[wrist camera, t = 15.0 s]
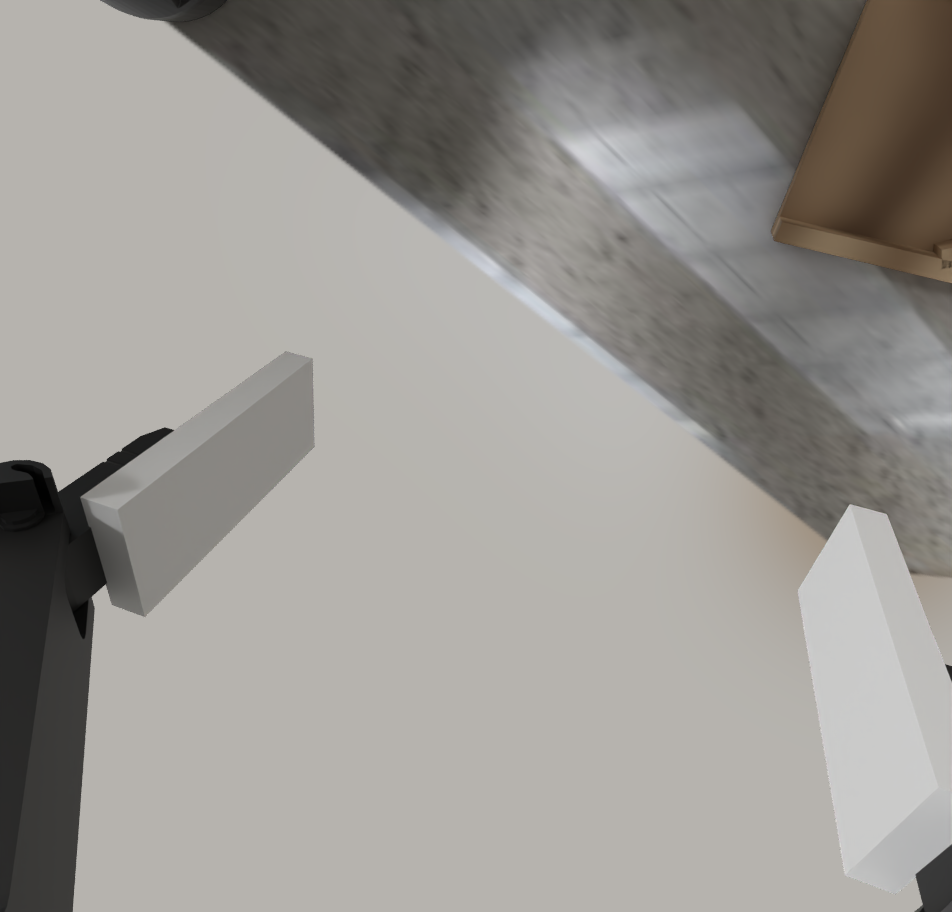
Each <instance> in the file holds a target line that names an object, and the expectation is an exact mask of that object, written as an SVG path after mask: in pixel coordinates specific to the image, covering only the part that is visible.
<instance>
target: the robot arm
mask: <svg viewBox="0 0 952 912" xmlns="http://www.w3.org/2000/svg"><path fill="white" fill-rule="evenodd" d="M101 1H103V2H105V3H106V4H108V5H110V6H111V7H113V8H115V9H117V10H119V11H122V12H124V13H127V14H130V15H133V16H136V17H139V18H144V19H151V20H161V21H174V22H182V21H190V20H195V19H198V18H201V17H203V16H206V15H208V14H209V13H211V12H213V11H214V10H216V9H217V8H219V7H220V6H221V5H222V4H223V3H224V2H226V0H101ZM312 363H313V362H312V358H308V357H305V356H301V355H297V354H294V353H290V352H284V353H283V354H281V355H280V356H279V357H277V358H276V359H274V360H273V361H272V362H270V363H269V364H267V365H266V366H264V367H263V368H262V369H260V370H259V371H257V372H256V373H255V374H253V375H252V376H250V377H249V378H248V379H246V380H245V381H243V382H242V383H240V384H239V385H238V386H236V387H235V388H234V389H232V390H231V391H229V392H228V393H226V394H225V395H224V396H222V397H221V398H220V399H218V400H217V401H215V402H214V403H212V404H211V405H210V406H208V407H207V408H205V409H204V410H202V411H201V412H200V413H198V414H197V415H195V416H194V417H193V418H191V419H190V420H188V421H187V422H185V423H184V424H183V425H181V426H180V427H179V428H177V429H176V430H172V429H168V428H162V429H159V430H157V431H154V432H151V433H149V434H145V435H143V436H140V437H139V438H137V439H136V440H135V441H133V442H131V443H130V444H129V445H127V446H126V447H124V448H123V449H122V451H121V452H117V453H115V454H114V455H112V456H111V457H109V458H108V459H107V461H106V462H102V463H100V464H99V465H97V466H96V467H95V468H93V469H92V470H90V471H89V472H87V473H86V474H84V475H83V476H81V477H80V478H78V479H77V480H75V481H74V482H72V483H71V484H69V485H68V486H67V487H65V488H64V489H62V490H61V491H59V492H58V491H57V488H56V485H55V482H54V478H53V476H52V472H51V469H50V468H48V467H47V466H46V465H44V464H43V463H39V462H35V461H31V460H15V461H14V460H13V461H8V462H3V463H0V912H73V897H74V884H75V871H76V856H77V843H78V829H79V816H80V802H81V787H82V773H83V760H84V745H85V733H86V719H87V705H88V692H89V677H90V663H91V650H92V636H93V623H94V605H93V600H92V596H93V595H94V594H95V593H96V592H97V591H98V590H99V589H101V588H102V587H103V586H104V585H105V584H106V586H107V590H108V593H109V596H110V600H111V603H112V605H114V606H117V607H119V608H122V609H125V610H128V611H130V612H133V613H136V614H138V615H141V616H144V617H145V616H146V615H147V614H148V613H149V612H150V611H151V610H152V609H153V608H154V607H155V606H156V605H157V604H158V603H159V602H160V601H161V600H162V599H163V598H164V597H165V596H166V595H167V594H168V593H169V592H170V591H171V590H172V589H173V588H174V587H175V586H176V585H177V584H178V583H179V582H180V581H181V580H182V579H183V578H184V577H185V576H186V575H187V574H188V573H189V572H190V571H191V570H192V569H193V568H194V567H195V566H196V565H197V564H198V563H199V562H200V561H201V560H202V559H203V558H204V557H205V556H206V555H207V554H208V553H209V552H210V551H211V550H212V549H213V548H214V547H215V546H216V545H217V544H218V543H219V542H220V541H221V540H222V539H223V538H224V537H225V536H226V535H227V534H228V533H229V532H230V531H231V530H232V529H233V528H234V527H235V526H236V525H237V524H238V523H239V522H240V521H241V520H242V519H243V518H244V517H245V516H246V515H247V514H248V513H249V512H250V511H251V510H252V509H253V508H254V507H255V506H256V505H257V504H258V503H259V502H260V501H261V500H262V499H263V498H264V497H265V496H266V495H267V494H268V493H269V492H270V491H271V490H272V489H273V488H274V487H275V486H276V485H277V484H278V483H279V482H280V481H281V480H282V479H283V478H284V477H285V476H286V475H287V474H288V473H289V472H290V471H291V470H292V469H293V468H294V467H295V466H296V465H297V464H298V463H299V462H300V461H301V460H302V459H303V458H304V457H305V456H306V455H307V454H308V453H309V452H310V451H311V450H312V449H313V448H314V409H313V408H314V405H313V364H312ZM798 597H799V602H800V608H801V614H802V621H803V627H804V633H805V638H806V644H807V651H808V657H809V663H810V669H811V675H812V681H813V687H814V693H815V698H816V705H817V711H818V717H819V723H820V729H821V735H822V741H823V747H824V753H825V759H826V765H827V771H828V777H829V783H830V789H831V795H832V801H833V807H834V813H835V819H836V825H837V831H838V837H839V843H840V850H841V855H842V862H843V868H844V874H845V876H848V877H850V878H853V879H856V880H859V881H861V882H864V883H866V884H869V885H872V886H875V887H877V888H880V889H883V890H886V891H888V892H891V893H894V894H897V893H898V892H899V891H900V890H901V889H903V888H904V887H905V886H906V885H907V884H909V883H910V882H911V881H912V880H913V879H915V878H916V879H917V883H918V887H919V891H920V895H921V899H922V902H923V905H922V906H921V907H920V908H919V909H917V910H916V911H915V912H952V666H949V665H946V664H944V661H943V658H942V656H941V653H940V651H939V648H938V645H937V643H936V640H935V638H934V635H933V633H932V630H931V627H930V625H929V622H928V620H927V617H926V615H925V612H924V609H923V607H922V604H921V602H920V599H919V597H918V594H917V591H916V589H915V586H914V583H913V581H912V578H911V576H910V573H909V570H908V568H907V565H906V563H905V560H904V557H903V555H902V552H901V550H900V547H899V544H898V542H897V539H896V537H895V534H894V532H893V529H892V526H891V524H890V521H889V519H888V516H887V514H884V513H881V512H877V511H873V510H870V509H866V508H862V507H859V506H855V505H851V504H850V505H849V506H848V508H847V510H846V511H845V513H844V515H843V516H842V518H841V520H840V521H839V523H838V525H837V526H836V528H835V530H834V531H833V533H832V534H831V536H830V538H829V539H828V541H827V543H826V544H825V546H824V548H823V549H822V551H821V553H820V554H819V556H818V558H817V559H816V561H815V563H814V564H813V566H812V568H811V569H810V571H809V573H808V574H807V576H806V578H805V579H804V581H803V583H802V584H801V586H800V588H799V589H798Z"/></svg>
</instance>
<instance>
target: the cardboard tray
mask: <svg viewBox="0 0 952 912" xmlns="http://www.w3.org/2000/svg"><path fill="white" fill-rule="evenodd" d="M771 233H772V236H773V239H774V241H776V242H781V243H785V244H789V245H793V246H797V247H802V248H806V249H810V250H814V251H818V252H823V253H827V254H831V255H835V256H839V257H844V258H848V259H852V260H856V261H860V262H865V263H869V264H873V265H877V266H881V267H886V268H890V269H894V270H898V271H902V272H907V273H911V274H915V275H919V276H923V277H928V278H932V279H936V280H940V281H944V282H949V283H952V0H867V1H866V4H865V6H864V9H863V11H862V13H861V16H860V18H859V21H858V23H857V25H856V28H855V30H854V33H853V35H852V37H851V40H850V42H849V45H848V47H847V49H846V52H845V54H844V57H843V59H842V61H841V64H840V66H839V69H838V71H837V73H836V76H835V78H834V81H833V83H832V85H831V88H830V90H829V93H828V95H827V97H826V100H825V102H824V105H823V107H822V109H821V112H820V114H819V117H818V119H817V121H816V124H815V126H814V129H813V131H812V133H811V136H810V138H809V141H808V143H807V145H806V148H805V150H804V153H803V155H802V157H801V160H800V162H799V165H798V167H797V169H796V172H795V174H794V177H793V179H792V181H791V184H790V186H789V189H788V191H787V193H786V196H785V198H784V201H783V203H782V205H781V208H780V210H779V213H778V215H777V217H776V220H775V222H774V225H773V227H772V229H771Z"/></svg>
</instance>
